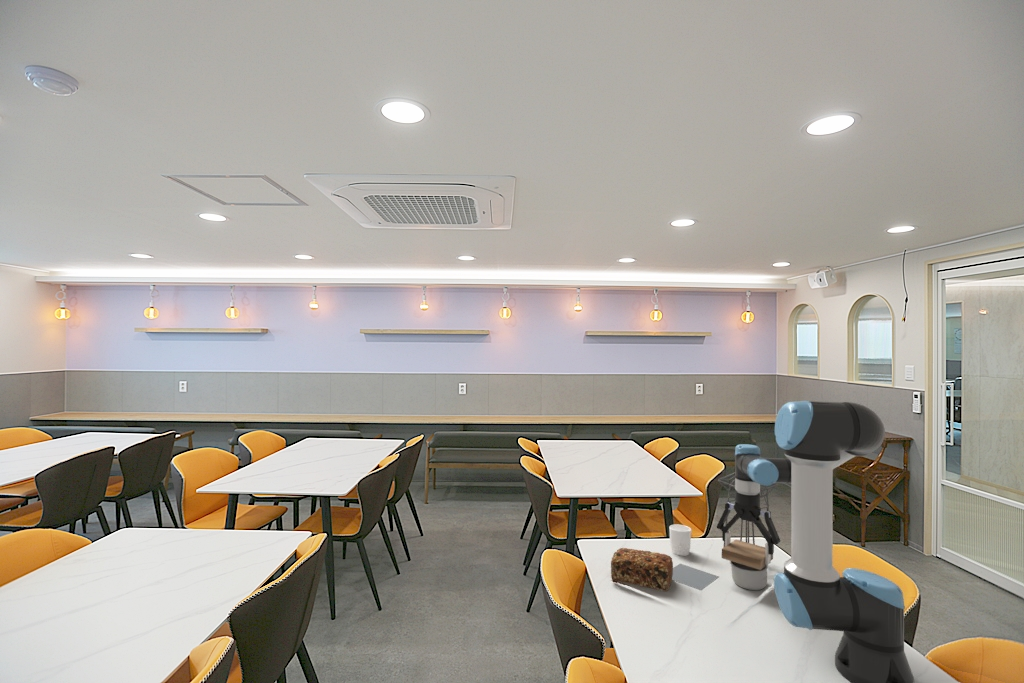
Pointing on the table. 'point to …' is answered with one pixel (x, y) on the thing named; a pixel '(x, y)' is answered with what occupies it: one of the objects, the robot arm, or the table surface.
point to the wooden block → (745, 554)
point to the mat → (692, 576)
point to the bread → (642, 568)
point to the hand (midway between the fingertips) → (747, 557)
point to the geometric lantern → (734, 500)
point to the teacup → (749, 576)
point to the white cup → (680, 539)
